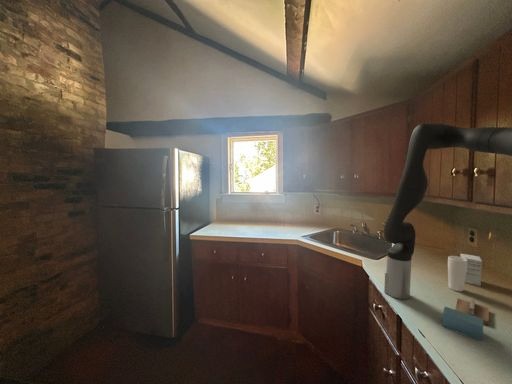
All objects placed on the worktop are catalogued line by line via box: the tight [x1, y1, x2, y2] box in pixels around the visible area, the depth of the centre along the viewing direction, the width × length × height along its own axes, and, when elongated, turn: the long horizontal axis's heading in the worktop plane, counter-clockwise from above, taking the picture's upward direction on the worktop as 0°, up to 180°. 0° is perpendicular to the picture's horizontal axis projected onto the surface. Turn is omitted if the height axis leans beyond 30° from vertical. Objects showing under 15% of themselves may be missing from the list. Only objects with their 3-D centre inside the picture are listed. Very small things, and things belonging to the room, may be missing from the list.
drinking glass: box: [447, 255, 467, 292], centre depth 103 cm, size 7×7×15 cm
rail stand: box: [454, 297, 490, 326], centre depth 86 cm, size 9×12×4 cm
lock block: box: [441, 306, 484, 342], centre depth 77 cm, size 10×6×5 cm, turn 44°
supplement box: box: [459, 253, 483, 287], centre depth 110 cm, size 7×7×13 cm
